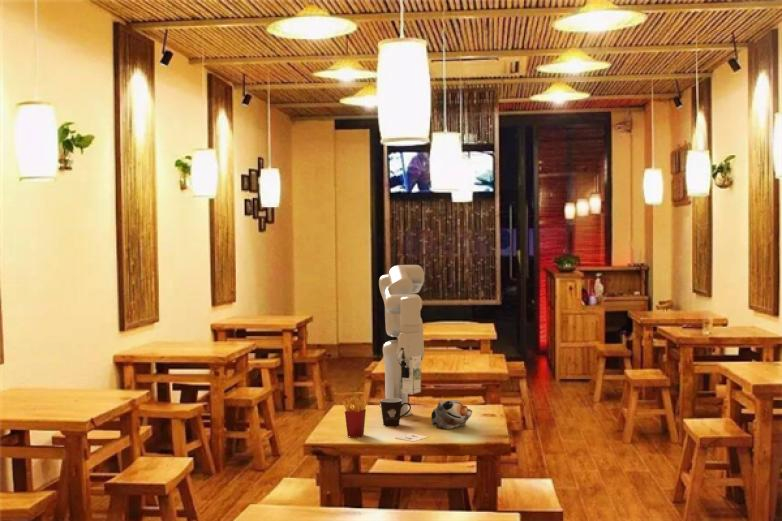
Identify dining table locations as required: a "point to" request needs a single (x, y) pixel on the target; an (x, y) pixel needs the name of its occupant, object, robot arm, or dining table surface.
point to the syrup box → (412, 376)
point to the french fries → (355, 417)
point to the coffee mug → (392, 411)
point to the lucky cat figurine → (450, 414)
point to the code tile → (411, 437)
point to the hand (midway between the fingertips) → (410, 376)
